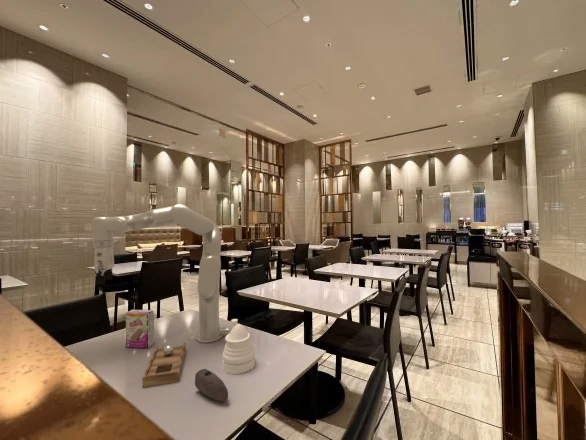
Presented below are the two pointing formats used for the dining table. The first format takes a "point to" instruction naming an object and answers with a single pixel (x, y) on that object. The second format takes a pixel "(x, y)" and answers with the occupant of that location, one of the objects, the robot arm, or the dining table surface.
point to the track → (164, 367)
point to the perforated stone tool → (211, 385)
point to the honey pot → (238, 350)
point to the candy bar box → (139, 328)
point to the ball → (168, 349)
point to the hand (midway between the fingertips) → (104, 282)
